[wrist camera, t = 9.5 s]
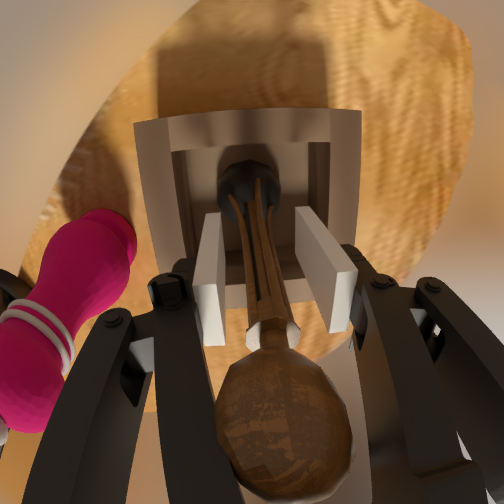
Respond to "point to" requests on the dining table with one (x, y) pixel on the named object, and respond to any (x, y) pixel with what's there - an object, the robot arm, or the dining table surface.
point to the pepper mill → (59, 314)
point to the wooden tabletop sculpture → (275, 369)
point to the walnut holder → (260, 150)
